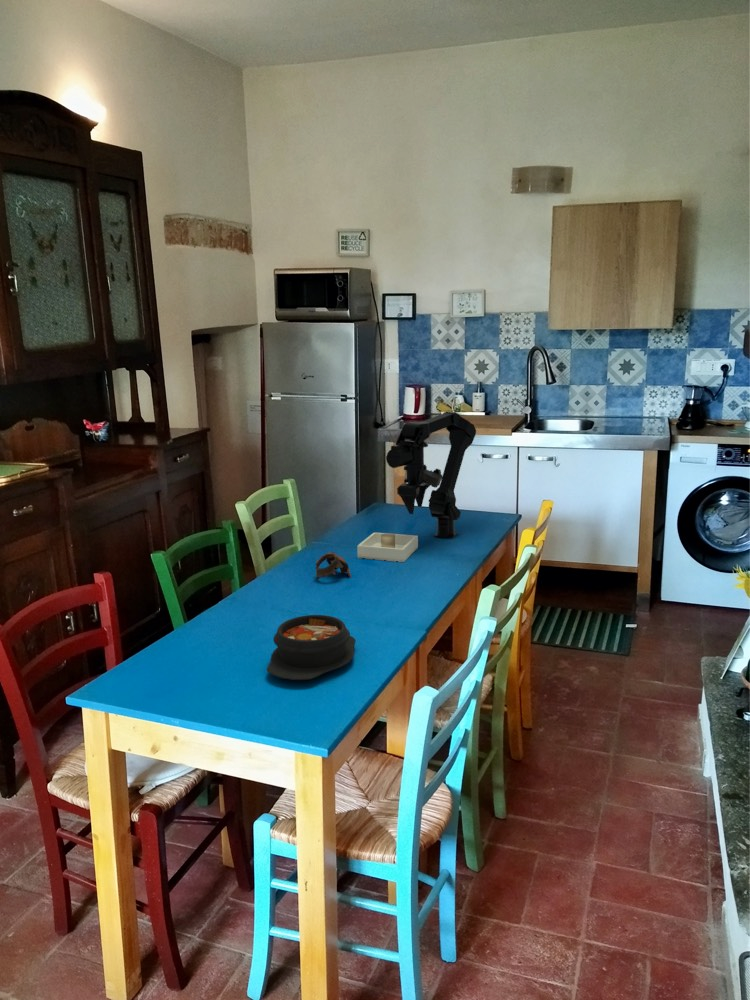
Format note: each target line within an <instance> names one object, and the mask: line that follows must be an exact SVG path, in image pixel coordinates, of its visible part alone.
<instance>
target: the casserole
mask: <svg viewBox="0 0 750 1000" xmlns="http://www.w3.org/2000/svg"><path fill="white" fill-rule="evenodd" d="M272 638H273V643H274V645H275V646H276V648H275V649H274V650H273V652H272V653H271V655H270V661H269V664H268V666H267V667H266V672H267V673H268V674H269V675H272V676H274V677H276V678H279V679H285V680H289V681H290V680H291V681H310V680H312V679H315V678H318V677H320V676H321V675H323V674H326V673H328V672H332V671H334V670H336V669H339V668H341V667H343V666H345V665H347V664H348V663H350V662H351V661H352V659H353V658H354V656H355V645H356V639H355V637H353V636H351V632H350V630H349V629H348V628H347V627H346V624H345V623H344V621H343V620H341V619H339V618H337V617H335V616H332V615H331V616H330V615H324V614H307V615H306V614H305V615H301V616H297V617H292V618H290V619H287V620H285V621H283V622H282V623H281V624H280V625H278V627H277V630H276V633H275V634H274V636H273V637H272Z"/></svg>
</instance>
